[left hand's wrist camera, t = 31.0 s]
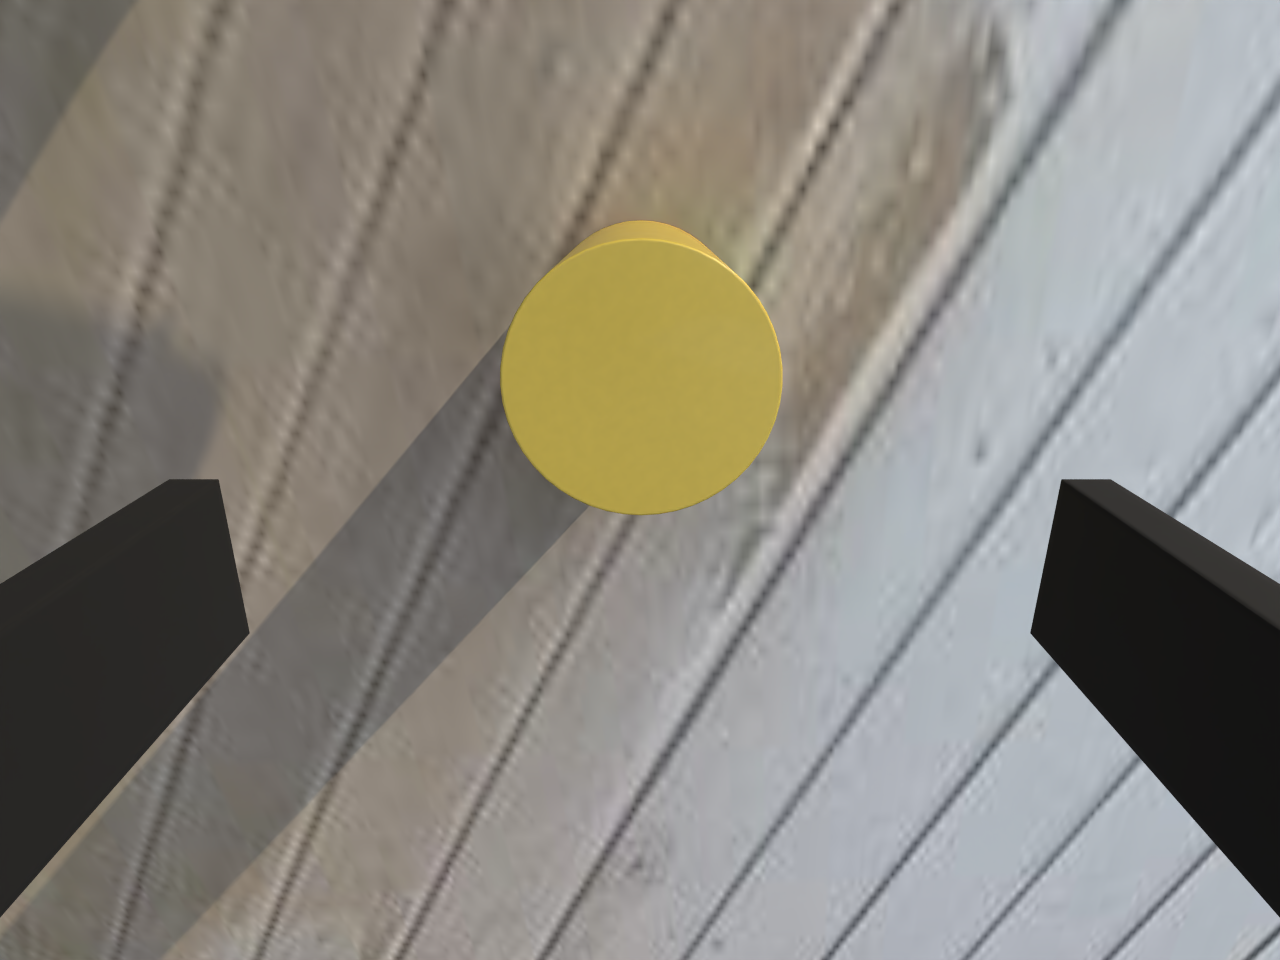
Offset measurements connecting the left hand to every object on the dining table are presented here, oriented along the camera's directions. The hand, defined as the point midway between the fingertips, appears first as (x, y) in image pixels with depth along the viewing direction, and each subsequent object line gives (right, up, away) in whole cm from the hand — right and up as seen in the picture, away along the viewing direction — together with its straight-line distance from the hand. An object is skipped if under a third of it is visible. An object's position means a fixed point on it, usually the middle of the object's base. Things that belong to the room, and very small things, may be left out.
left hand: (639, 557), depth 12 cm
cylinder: (0, +8, +23) cm, 24 cm away
